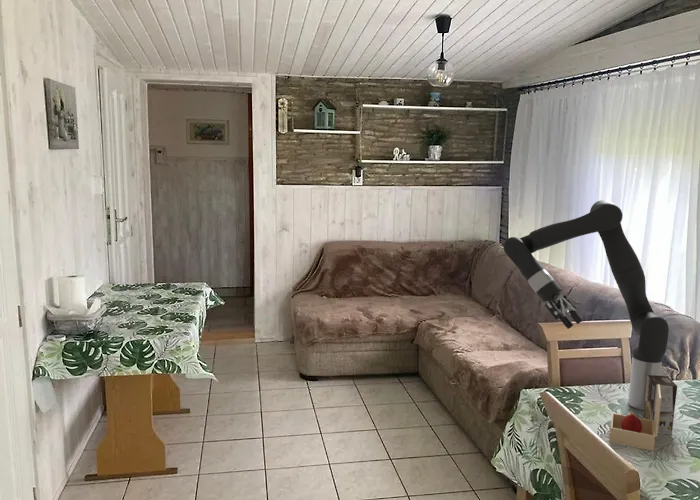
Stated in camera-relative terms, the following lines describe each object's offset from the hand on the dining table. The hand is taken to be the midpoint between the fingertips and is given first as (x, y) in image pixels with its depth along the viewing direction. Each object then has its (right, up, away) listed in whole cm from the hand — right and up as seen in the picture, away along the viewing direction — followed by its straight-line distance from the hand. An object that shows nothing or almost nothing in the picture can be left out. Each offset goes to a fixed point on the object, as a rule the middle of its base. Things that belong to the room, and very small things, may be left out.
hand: (575, 324), depth 192 cm
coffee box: (+24, -33, -6) cm, 41 cm away
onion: (+12, -33, -13) cm, 38 cm away
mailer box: (+12, -33, -13) cm, 38 cm away
